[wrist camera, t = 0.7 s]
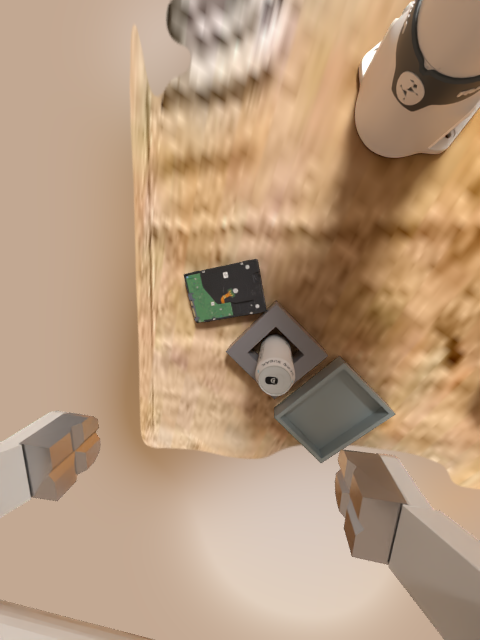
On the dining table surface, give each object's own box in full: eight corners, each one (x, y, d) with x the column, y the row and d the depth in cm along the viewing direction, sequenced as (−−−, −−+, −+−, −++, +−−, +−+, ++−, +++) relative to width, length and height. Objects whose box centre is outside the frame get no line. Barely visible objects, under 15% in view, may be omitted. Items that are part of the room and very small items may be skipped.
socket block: (276, 300, 46) (276, 303, 42) (323, 348, 47) (328, 355, 43) (229, 345, 50) (225, 351, 46) (274, 389, 50) (274, 399, 46)
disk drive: (257, 258, 45) (187, 274, 48) (256, 257, 43) (182, 274, 45) (267, 309, 47) (199, 322, 50) (267, 311, 45) (195, 325, 47)
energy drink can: (289, 361, 48) (294, 401, 34) (260, 359, 49) (253, 397, 35) (291, 333, 47) (297, 363, 33) (261, 332, 48) (254, 360, 33)
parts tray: (339, 355, 46) (344, 362, 43) (387, 403, 47) (395, 414, 44) (274, 407, 51) (274, 417, 48) (318, 450, 52) (321, 463, 49)
